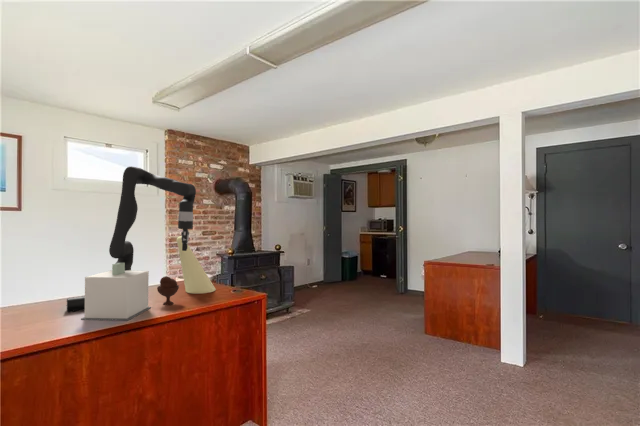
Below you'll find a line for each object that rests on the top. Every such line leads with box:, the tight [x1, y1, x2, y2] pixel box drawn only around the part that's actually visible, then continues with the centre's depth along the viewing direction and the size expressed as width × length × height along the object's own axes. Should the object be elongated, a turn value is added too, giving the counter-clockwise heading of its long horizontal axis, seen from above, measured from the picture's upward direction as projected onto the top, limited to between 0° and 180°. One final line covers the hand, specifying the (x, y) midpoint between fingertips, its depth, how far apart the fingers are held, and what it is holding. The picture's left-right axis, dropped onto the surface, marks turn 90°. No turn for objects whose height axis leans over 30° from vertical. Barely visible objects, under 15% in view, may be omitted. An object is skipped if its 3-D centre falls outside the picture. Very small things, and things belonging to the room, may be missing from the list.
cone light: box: [176, 236, 217, 294], centre depth 224 cm, size 25×18×35 cm
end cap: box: [66, 295, 85, 313], centre depth 177 cm, size 10×7×7 cm
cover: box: [84, 262, 150, 319], centre depth 172 cm, size 20×20×24 cm
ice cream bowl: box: [157, 276, 180, 306], centre depth 191 cm, size 11×11×15 cm
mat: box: [80, 306, 152, 322], centre depth 172 cm, size 22×22×1 cm
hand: (184, 249), depth 192 cm, fingers open, 8 cm apart
